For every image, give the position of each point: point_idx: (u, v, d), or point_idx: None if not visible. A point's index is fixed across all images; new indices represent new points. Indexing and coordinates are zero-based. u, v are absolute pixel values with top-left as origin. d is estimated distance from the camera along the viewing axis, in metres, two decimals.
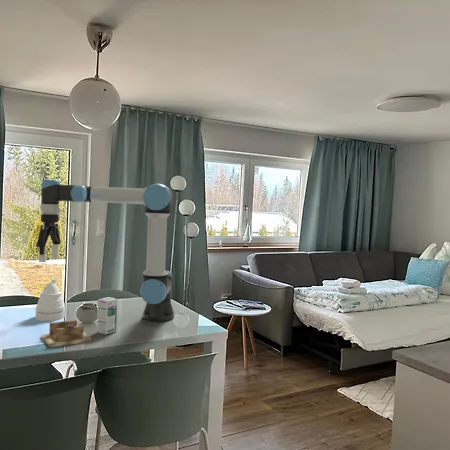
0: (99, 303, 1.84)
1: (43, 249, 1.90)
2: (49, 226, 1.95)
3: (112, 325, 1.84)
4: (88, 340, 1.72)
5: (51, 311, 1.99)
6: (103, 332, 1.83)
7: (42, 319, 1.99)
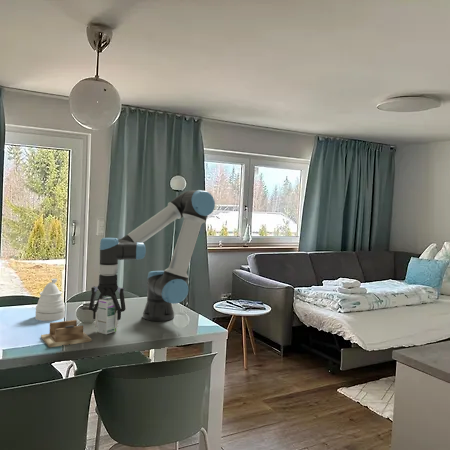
0: (99, 303, 1.84)
1: (94, 313, 1.85)
2: (100, 287, 1.84)
3: (112, 325, 1.84)
4: (88, 340, 1.72)
5: (51, 311, 1.99)
6: (103, 332, 1.83)
7: (42, 319, 1.99)
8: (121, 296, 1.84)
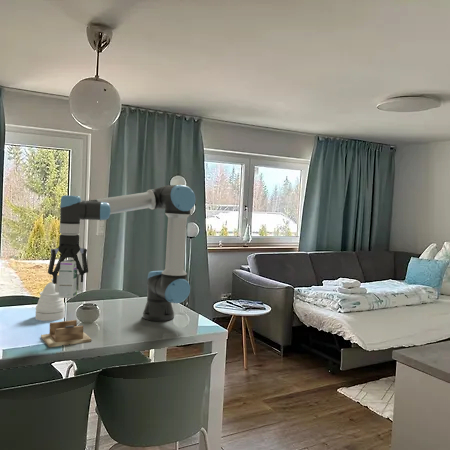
0: (61, 266, 1.70)
1: (55, 278, 1.69)
2: (62, 248, 1.70)
3: (75, 288, 1.74)
4: (88, 340, 1.72)
5: (51, 311, 1.99)
6: (68, 296, 1.71)
7: (42, 319, 1.99)
8: (85, 257, 1.75)
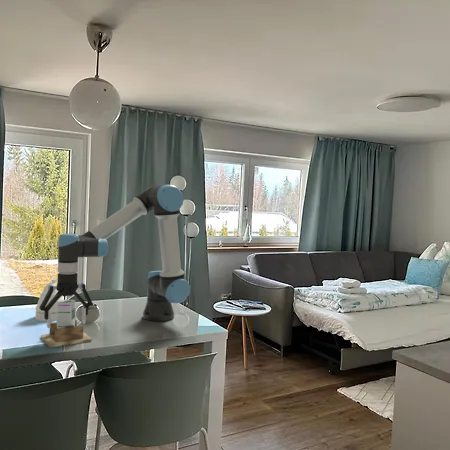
0: (59, 307, 1.70)
1: (46, 313, 1.68)
2: (60, 287, 1.70)
3: None
4: (88, 340, 1.72)
5: (51, 311, 1.99)
6: None
7: (42, 319, 1.99)
8: (85, 291, 1.76)
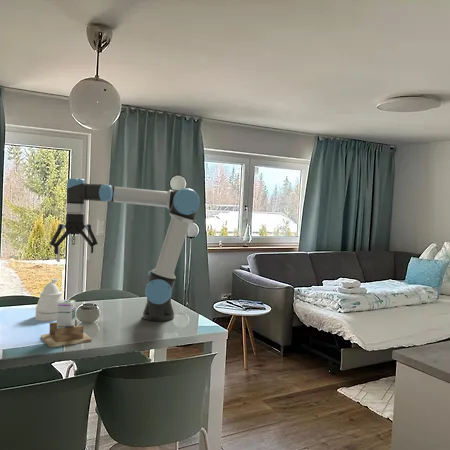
0: (59, 307, 1.70)
1: (56, 248, 1.88)
2: (69, 226, 1.90)
3: None
4: (88, 340, 1.72)
5: (51, 311, 1.99)
6: None
7: (42, 319, 1.99)
8: (91, 231, 1.96)
